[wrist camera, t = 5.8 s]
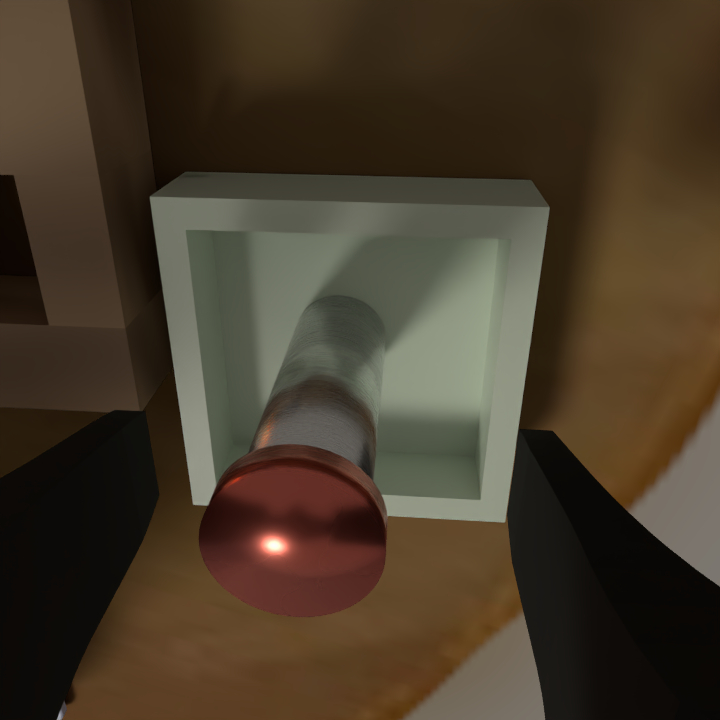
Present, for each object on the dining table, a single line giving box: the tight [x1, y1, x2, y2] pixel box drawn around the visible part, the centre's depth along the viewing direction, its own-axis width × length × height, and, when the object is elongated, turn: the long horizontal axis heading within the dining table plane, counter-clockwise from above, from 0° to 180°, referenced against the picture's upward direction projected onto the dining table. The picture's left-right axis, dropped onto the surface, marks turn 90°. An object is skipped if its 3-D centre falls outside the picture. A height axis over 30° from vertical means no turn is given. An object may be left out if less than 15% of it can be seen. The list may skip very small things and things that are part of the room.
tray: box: [150, 172, 550, 522], centre depth 17 cm, size 8×8×2 cm
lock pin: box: [199, 295, 388, 617], centre depth 14 cm, size 3×3×8 cm
